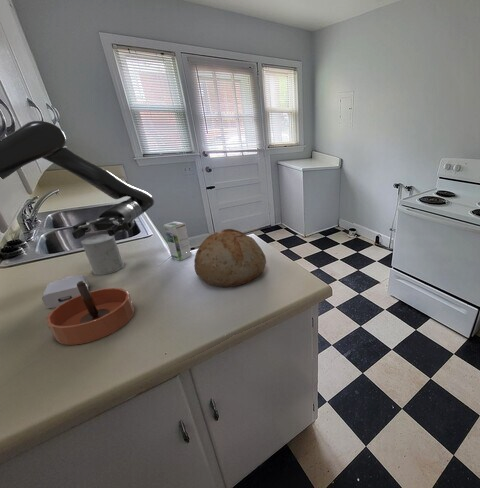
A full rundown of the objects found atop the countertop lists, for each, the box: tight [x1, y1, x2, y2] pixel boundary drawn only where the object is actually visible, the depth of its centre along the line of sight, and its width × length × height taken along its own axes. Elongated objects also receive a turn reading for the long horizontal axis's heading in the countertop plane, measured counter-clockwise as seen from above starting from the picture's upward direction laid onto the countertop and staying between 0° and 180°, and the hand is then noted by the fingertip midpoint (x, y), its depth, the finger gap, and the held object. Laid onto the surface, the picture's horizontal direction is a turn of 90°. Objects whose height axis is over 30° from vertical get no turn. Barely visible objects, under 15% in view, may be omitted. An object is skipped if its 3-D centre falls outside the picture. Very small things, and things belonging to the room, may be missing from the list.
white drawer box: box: [41, 274, 90, 309], centre depth 87 cm, size 5×9×15 cm
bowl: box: [46, 287, 135, 346], centre depth 74 cm, size 17×17×6 cm
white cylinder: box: [80, 233, 125, 276], centre depth 100 cm, size 10×10×12 cm
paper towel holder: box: [77, 281, 110, 324], centre depth 72 cm, size 6×6×12 cm
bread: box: [193, 228, 267, 288], centre depth 97 cm, size 26×23×15 cm
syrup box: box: [163, 221, 193, 261], centre depth 109 cm, size 6×6×14 cm
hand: (92, 234), depth 76 cm, fingers open, 8 cm apart
